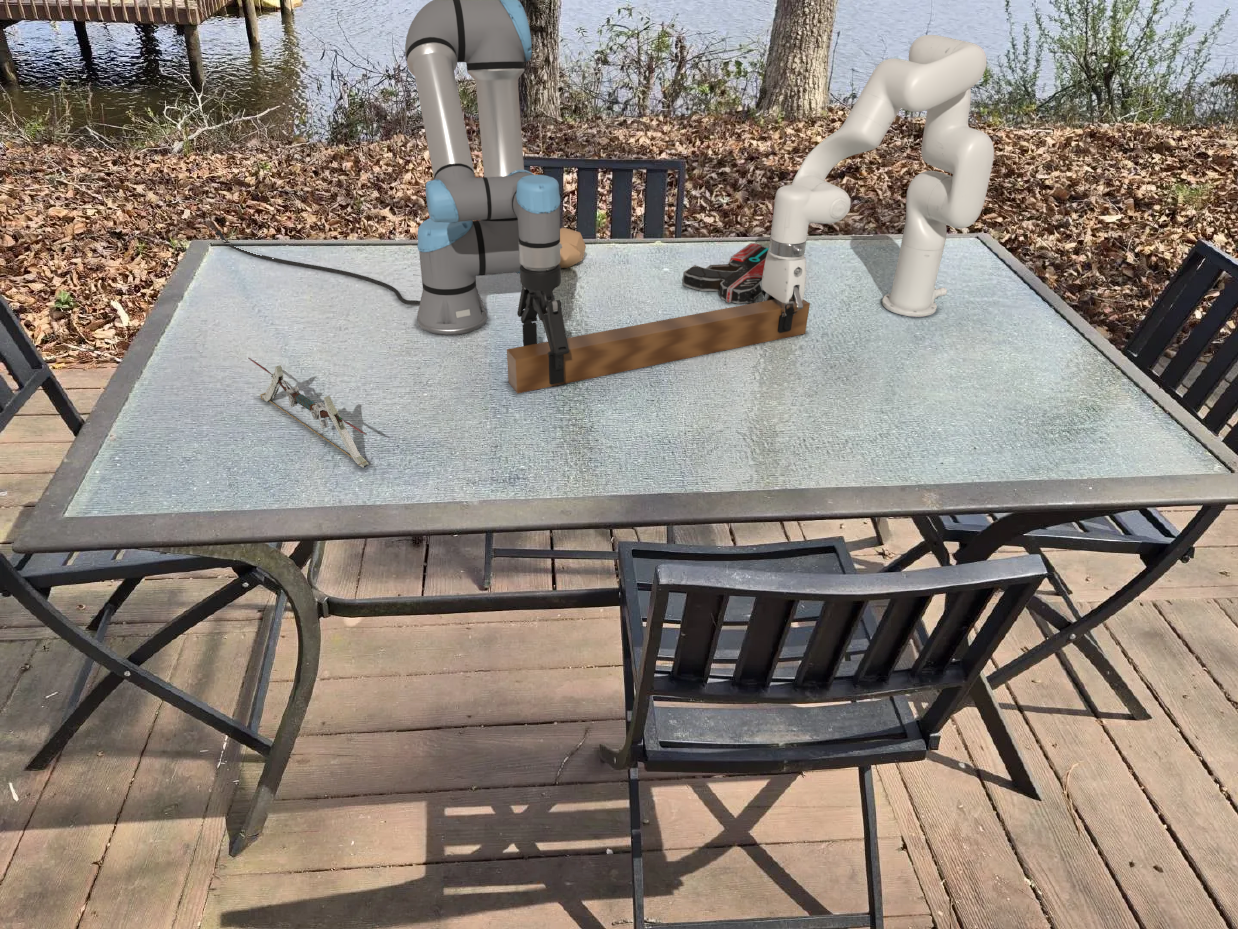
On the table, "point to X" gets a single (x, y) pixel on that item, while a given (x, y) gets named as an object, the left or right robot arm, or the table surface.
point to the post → (653, 343)
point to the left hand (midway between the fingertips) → (543, 368)
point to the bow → (313, 411)
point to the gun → (732, 275)
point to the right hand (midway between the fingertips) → (776, 325)
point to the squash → (571, 247)
